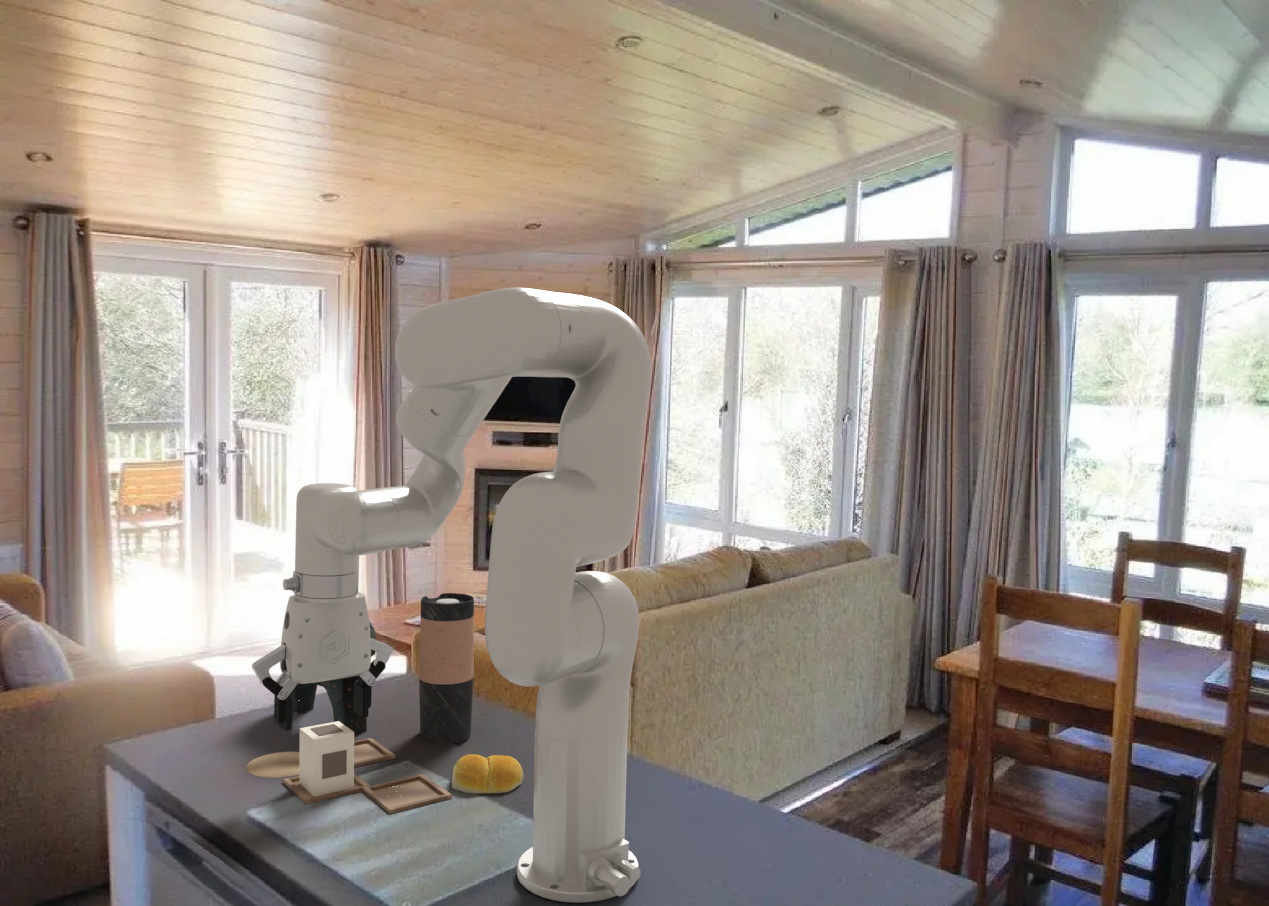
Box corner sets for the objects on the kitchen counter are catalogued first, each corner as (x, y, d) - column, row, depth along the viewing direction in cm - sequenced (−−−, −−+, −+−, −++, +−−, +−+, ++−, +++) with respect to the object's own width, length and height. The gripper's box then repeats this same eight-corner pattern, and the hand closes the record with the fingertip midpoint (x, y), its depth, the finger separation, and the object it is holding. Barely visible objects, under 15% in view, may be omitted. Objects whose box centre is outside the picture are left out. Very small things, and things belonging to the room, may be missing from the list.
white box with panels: (354, 788, 126) (354, 731, 126) (314, 797, 123) (314, 739, 123) (338, 775, 130) (338, 720, 130) (299, 783, 127) (299, 727, 127)
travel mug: (467, 746, 143) (469, 604, 142) (412, 744, 143) (414, 603, 142) (476, 728, 151) (479, 593, 149) (425, 726, 151) (426, 592, 150)
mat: (329, 770, 133) (329, 767, 133) (258, 785, 127) (258, 782, 127) (304, 750, 140) (304, 747, 140) (236, 763, 134) (236, 760, 134)
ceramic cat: (379, 735, 147) (381, 597, 145) (338, 745, 142) (339, 603, 141) (312, 702, 161) (313, 576, 159) (273, 710, 156) (273, 580, 155)
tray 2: (395, 760, 137) (395, 755, 137) (337, 773, 132) (337, 767, 132) (370, 743, 143) (371, 737, 143) (314, 754, 138) (314, 748, 138)
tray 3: (451, 801, 124) (452, 794, 124) (390, 816, 119) (390, 810, 119) (422, 780, 131) (422, 773, 131) (362, 794, 126) (362, 787, 126)
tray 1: (370, 792, 126) (370, 785, 126) (306, 807, 121) (306, 800, 121) (344, 771, 133) (345, 765, 133) (283, 785, 128) (283, 779, 128)
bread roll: (524, 797, 127) (525, 765, 126) (451, 800, 125) (451, 768, 125) (521, 771, 135) (521, 742, 135) (451, 774, 133) (452, 744, 133)
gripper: (265, 598, 117) (262, 743, 119) (405, 584, 128) (401, 718, 129) (244, 585, 123) (242, 724, 124) (380, 573, 134) (376, 701, 135)
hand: (323, 721), depth 127 cm, fingers open, 9 cm apart
